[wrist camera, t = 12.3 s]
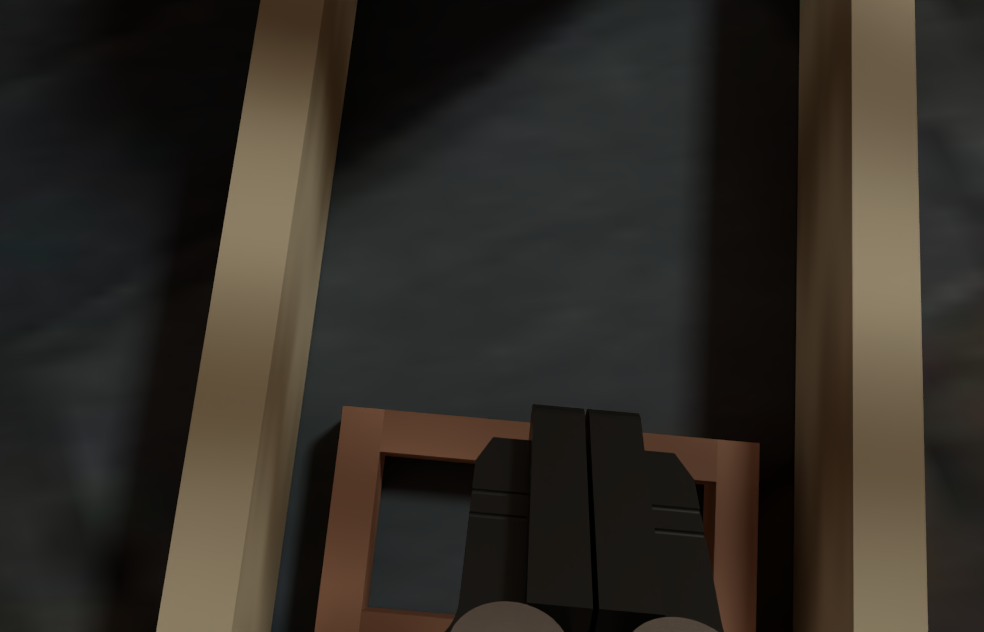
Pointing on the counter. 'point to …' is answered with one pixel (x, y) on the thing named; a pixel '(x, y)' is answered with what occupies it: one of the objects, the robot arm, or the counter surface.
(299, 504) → the counter surface
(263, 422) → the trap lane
